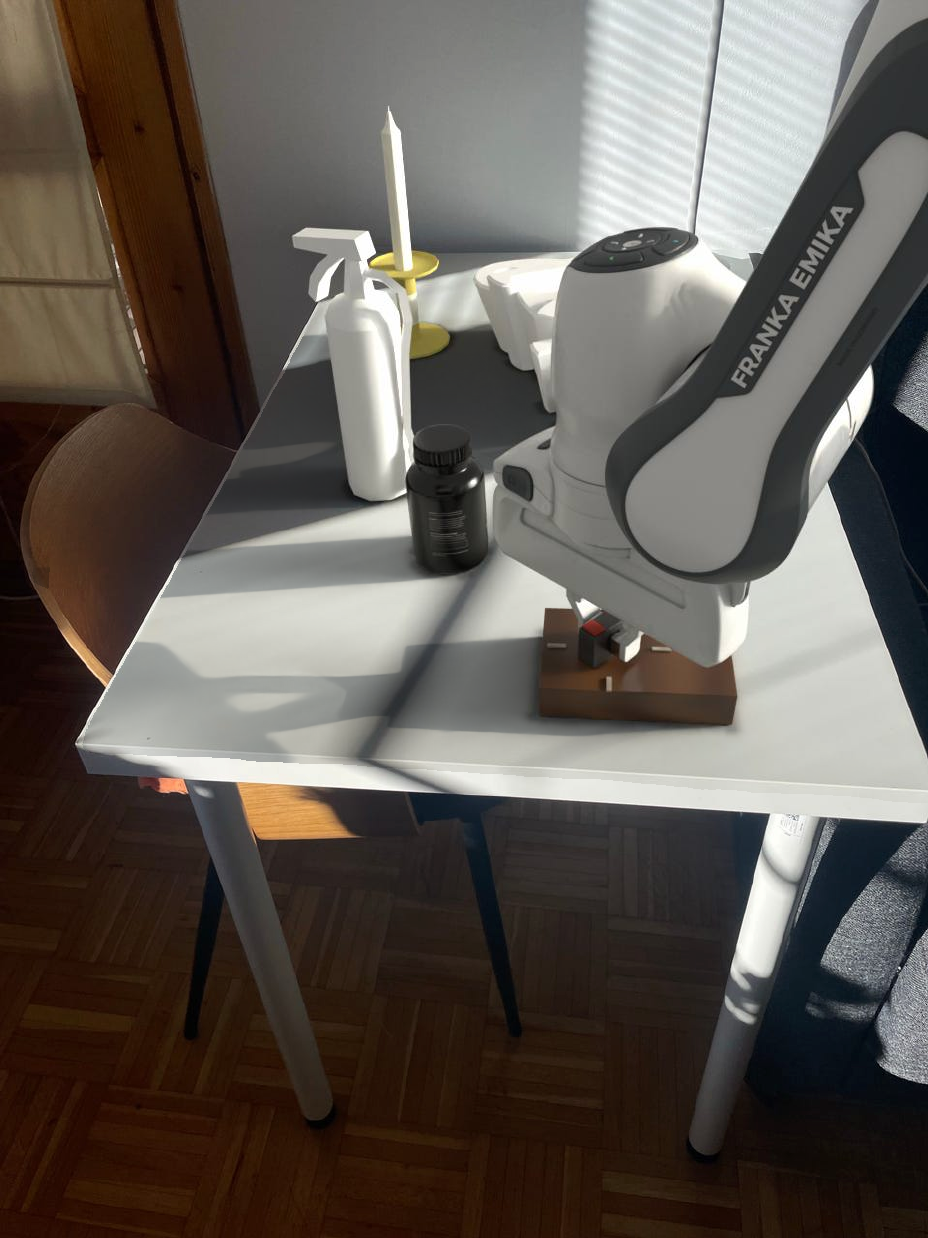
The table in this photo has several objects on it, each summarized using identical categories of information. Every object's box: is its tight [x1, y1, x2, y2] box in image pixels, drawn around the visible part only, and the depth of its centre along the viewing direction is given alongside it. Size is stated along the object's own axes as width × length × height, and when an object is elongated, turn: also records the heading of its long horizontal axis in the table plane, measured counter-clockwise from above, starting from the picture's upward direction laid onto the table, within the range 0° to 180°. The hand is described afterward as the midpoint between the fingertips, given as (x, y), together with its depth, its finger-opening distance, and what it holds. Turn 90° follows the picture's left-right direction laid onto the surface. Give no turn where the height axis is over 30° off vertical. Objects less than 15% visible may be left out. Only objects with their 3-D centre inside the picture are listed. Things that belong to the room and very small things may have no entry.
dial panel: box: [538, 607, 738, 726], centre depth 73 cm, size 14×9×3 cm, turn 84°
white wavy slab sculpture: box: [472, 257, 575, 415], centre depth 108 cm, size 35×16×11 cm, turn 12°
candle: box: [368, 105, 451, 360], centre depth 112 cm, size 10×10×27 cm
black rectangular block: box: [578, 611, 623, 669], centre depth 71 cm, size 5×2×3 cm, turn 130°
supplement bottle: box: [405, 423, 489, 575], centre depth 83 cm, size 7×7×12 cm
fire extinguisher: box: [291, 227, 415, 502], centre depth 88 cm, size 7×12×25 cm, turn 58°
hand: (607, 644), depth 71 cm, fingers closed on black rectangular block, 2 cm apart
